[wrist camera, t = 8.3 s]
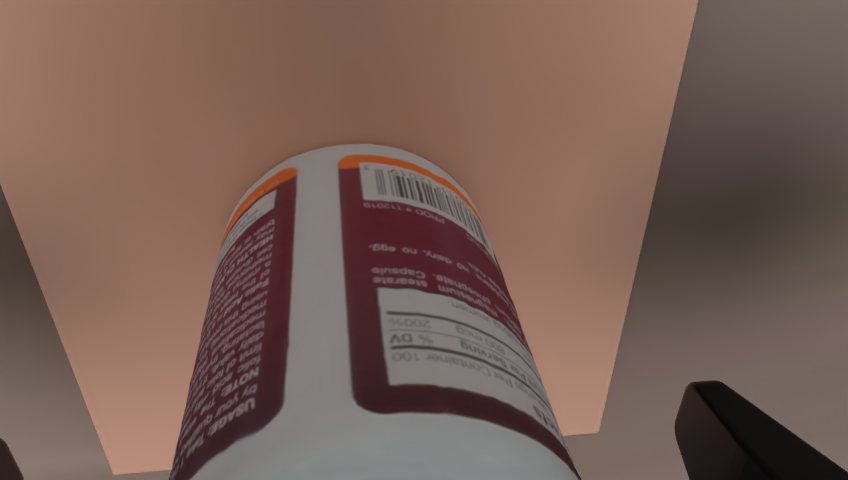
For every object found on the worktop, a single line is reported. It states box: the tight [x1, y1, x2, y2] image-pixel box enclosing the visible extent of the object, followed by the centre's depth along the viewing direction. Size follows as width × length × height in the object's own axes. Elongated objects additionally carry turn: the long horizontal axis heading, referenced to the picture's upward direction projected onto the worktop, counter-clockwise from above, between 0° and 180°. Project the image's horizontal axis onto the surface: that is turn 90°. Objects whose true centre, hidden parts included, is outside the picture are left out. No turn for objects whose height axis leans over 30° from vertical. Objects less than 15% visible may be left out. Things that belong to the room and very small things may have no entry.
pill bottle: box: [169, 144, 581, 480], centre depth 9 cm, size 5×5×8 cm
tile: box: [0, 0, 699, 475], centre depth 12 cm, size 11×11×1 cm
